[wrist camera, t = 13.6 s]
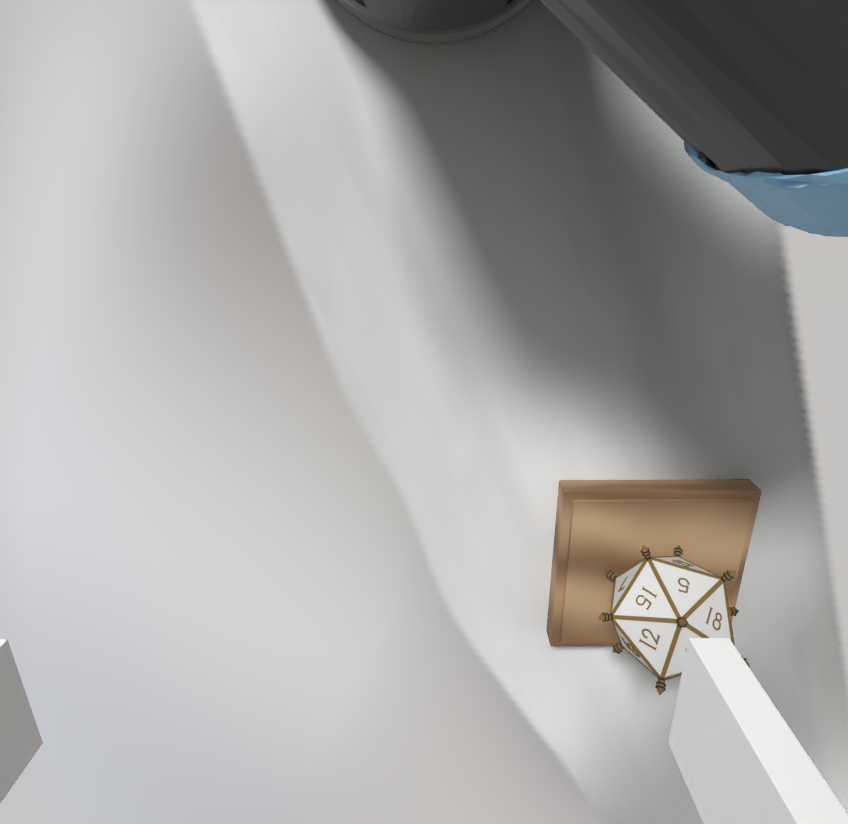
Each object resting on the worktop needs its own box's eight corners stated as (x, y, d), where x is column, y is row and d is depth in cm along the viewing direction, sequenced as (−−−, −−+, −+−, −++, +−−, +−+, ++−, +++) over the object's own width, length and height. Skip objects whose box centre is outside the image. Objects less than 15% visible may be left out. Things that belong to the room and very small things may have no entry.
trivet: (559, 480, 40) (565, 494, 38) (748, 479, 39) (764, 493, 38) (546, 630, 44) (551, 649, 42) (715, 630, 44) (728, 649, 42)
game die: (656, 537, 43) (799, 618, 36) (596, 634, 43) (728, 735, 35) (614, 497, 37) (776, 585, 30) (543, 610, 36) (690, 727, 29)
